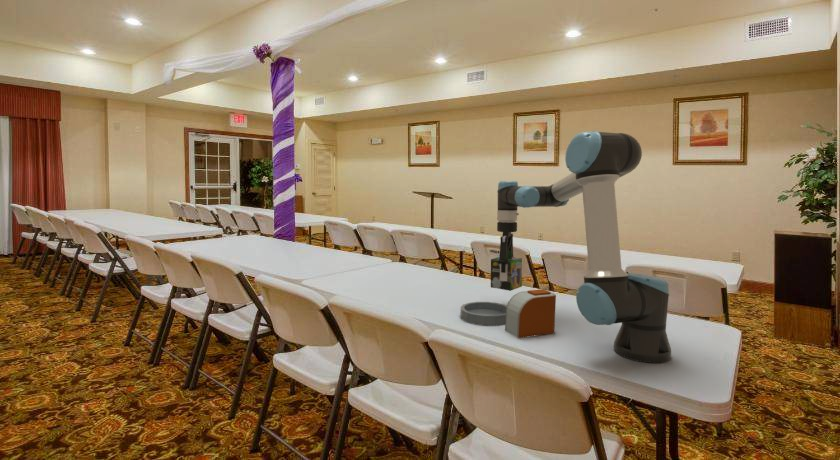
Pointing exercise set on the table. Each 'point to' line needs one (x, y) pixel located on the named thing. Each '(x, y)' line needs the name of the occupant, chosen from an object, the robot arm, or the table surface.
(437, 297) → the table surface
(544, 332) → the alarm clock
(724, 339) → the table surface
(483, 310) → the round tray
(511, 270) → the chalk box
